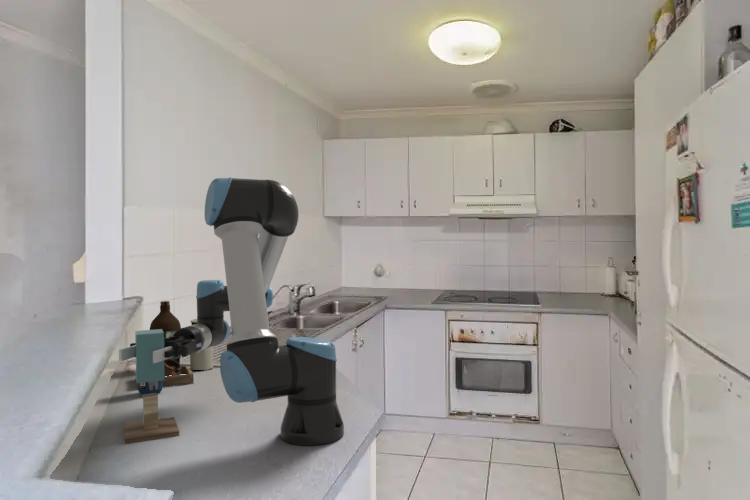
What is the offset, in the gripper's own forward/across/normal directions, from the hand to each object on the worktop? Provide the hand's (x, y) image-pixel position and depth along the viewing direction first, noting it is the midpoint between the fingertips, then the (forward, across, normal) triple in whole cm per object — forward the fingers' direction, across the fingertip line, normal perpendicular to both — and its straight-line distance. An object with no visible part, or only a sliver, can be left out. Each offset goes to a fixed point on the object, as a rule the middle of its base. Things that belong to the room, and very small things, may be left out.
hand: (137, 356), depth 132 cm
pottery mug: (-49, +29, -20) cm, 60 cm away
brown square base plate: (-4, 0, -20) cm, 20 cm away
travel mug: (-67, +25, -20) cm, 74 cm away
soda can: (-34, +22, -20) cm, 45 cm away
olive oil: (-62, +37, -20) cm, 75 cm away
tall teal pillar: (-5, 0, -6) cm, 8 cm away
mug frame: (-48, +27, -20) cm, 59 cm away
